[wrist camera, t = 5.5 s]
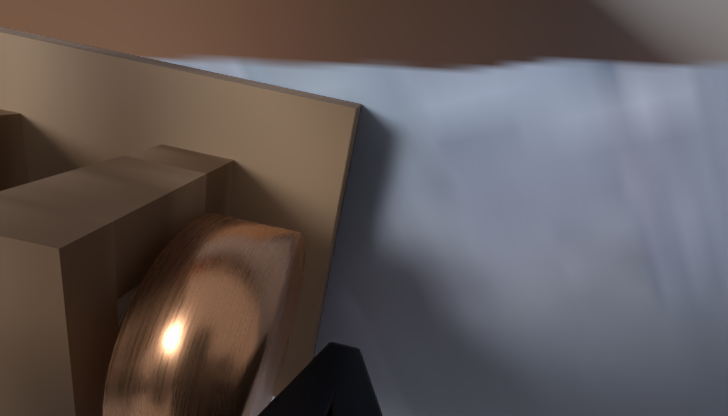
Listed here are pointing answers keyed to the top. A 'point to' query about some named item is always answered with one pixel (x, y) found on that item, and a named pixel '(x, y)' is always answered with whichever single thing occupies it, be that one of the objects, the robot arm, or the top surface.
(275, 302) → the shaft
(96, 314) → the bearing stand
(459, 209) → the top surface
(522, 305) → the top surface
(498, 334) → the top surface
